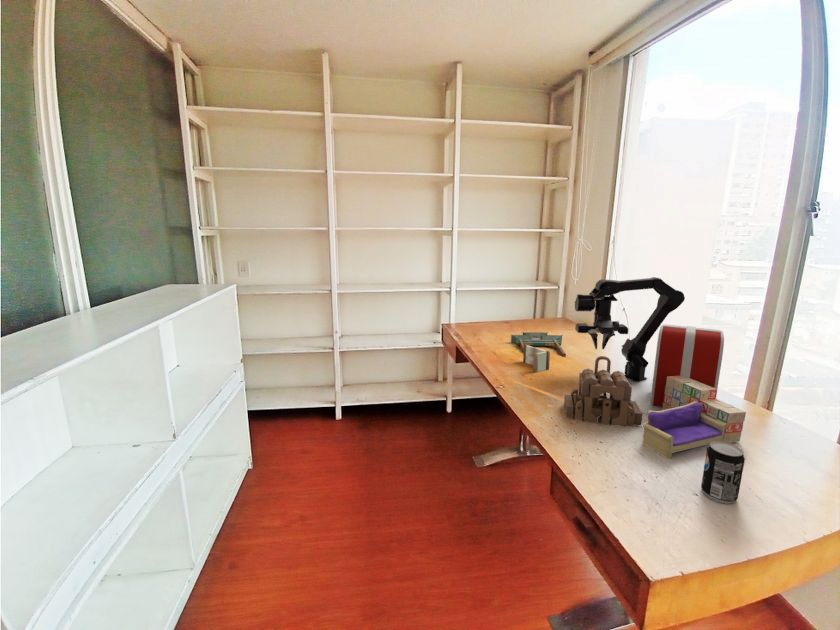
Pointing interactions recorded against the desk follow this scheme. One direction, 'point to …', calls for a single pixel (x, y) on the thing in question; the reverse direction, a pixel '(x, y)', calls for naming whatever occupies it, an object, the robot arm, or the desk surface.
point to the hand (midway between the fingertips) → (599, 349)
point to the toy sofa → (680, 429)
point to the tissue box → (686, 357)
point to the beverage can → (722, 472)
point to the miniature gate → (538, 340)
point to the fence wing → (539, 361)
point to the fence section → (529, 355)
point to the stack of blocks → (704, 404)
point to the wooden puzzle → (603, 398)
